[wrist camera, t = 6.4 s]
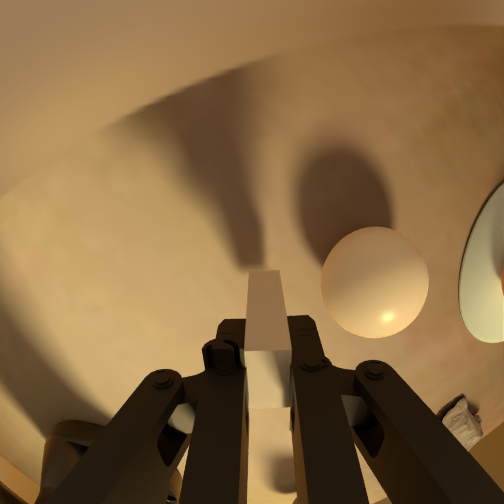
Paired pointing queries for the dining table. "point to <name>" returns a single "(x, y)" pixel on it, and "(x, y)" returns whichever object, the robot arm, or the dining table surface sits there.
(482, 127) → the dining table surface
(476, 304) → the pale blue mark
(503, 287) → the object ball
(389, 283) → the cue ball
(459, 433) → the mineral specimen
